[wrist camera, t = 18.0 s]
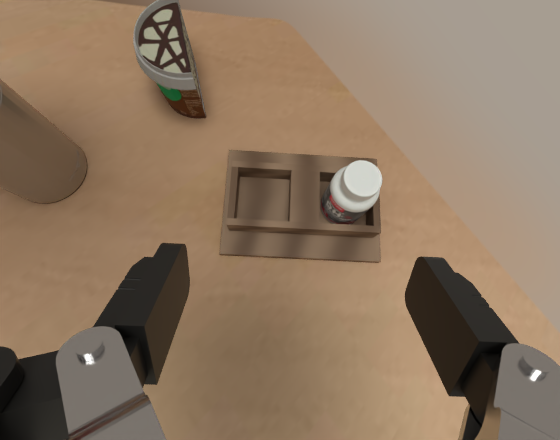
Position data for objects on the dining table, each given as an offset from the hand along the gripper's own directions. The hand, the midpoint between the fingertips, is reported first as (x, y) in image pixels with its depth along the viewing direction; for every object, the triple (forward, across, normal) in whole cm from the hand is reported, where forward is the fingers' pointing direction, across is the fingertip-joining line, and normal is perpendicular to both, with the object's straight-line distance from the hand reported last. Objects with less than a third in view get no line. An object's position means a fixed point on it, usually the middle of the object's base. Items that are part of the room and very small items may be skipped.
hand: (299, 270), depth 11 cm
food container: (+40, +15, +1) cm, 43 cm away
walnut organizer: (+28, -3, +12) cm, 31 cm away
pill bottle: (+28, -8, +12) cm, 31 cm away
